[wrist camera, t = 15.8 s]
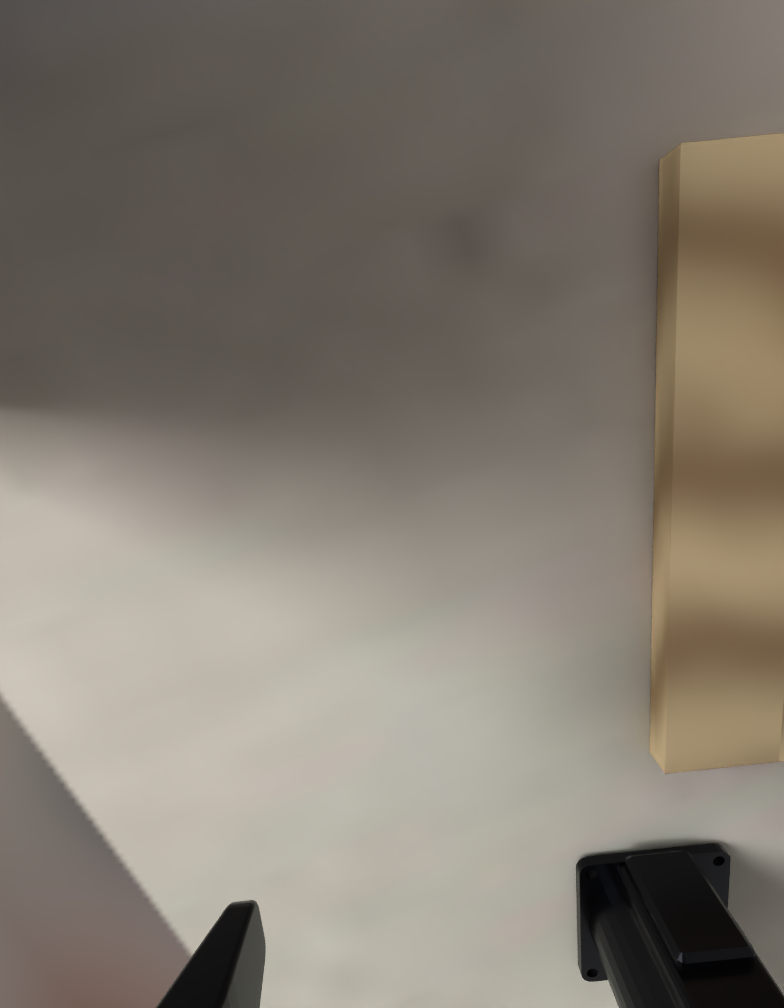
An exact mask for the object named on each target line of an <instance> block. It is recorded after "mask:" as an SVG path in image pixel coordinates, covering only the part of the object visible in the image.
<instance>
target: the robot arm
mask: <svg viewBox="0 0 784 1008" xmlns="http://www.w3.org/2000/svg"><path fill="white" fill-rule="evenodd" d="M729 876H730V856H729V855H728V853H727V852H726V851H725V849H724V848H723V847H722V846H721V845H719V844H704V845H695V846H685V847H676V848H666V849H657V850H648V851H638V852H629V853H619V854H610V855H600V856H591V857H585V858H582V859H581V860H579V861H578V863H577V865H576V891H577V937H578V966H579V969H580V972H581V975H582V978H583V979H584V980H586V981H592V982H593V981H602V980H608V981H609V983H610V986H611V988H612V991H613V994H614V996H615V999H616V1001H617V1004H618V1006H619V1008H784V995H783V993H782V992H781V990H780V989H779V987H778V986H777V984H776V983H775V981H774V980H773V978H772V977H771V975H770V974H769V972H768V971H767V969H766V968H765V966H764V965H763V963H762V962H761V960H760V959H759V957H758V956H757V954H756V953H755V951H754V949H753V946H752V945H751V943H750V942H749V940H748V939H747V937H746V936H745V934H744V933H743V931H742V930H741V928H740V927H739V925H738V924H737V922H736V921H735V919H734V918H733V916H732V915H731V913H730V912H729V910H728V909H727V908H728V892H729ZM264 964H265V937H264V932H263V927H262V921H261V916H260V911H259V906H258V904H257V902H256V901H254V900H249V901H239V902H233V903H231V904H230V905H228V906H227V907H226V909H225V910H224V912H223V913H222V914H221V916H220V917H219V919H218V920H217V922H216V923H215V924H214V926H213V927H212V929H211V930H210V931H209V933H208V934H207V936H206V937H205V939H204V940H203V941H202V943H201V944H200V946H199V947H198V949H197V950H196V951H195V953H194V954H193V956H192V957H191V958H190V960H189V961H188V963H187V964H186V966H185V967H184V968H183V970H182V971H181V973H180V974H179V976H178V977H177V978H176V980H175V981H174V983H173V984H172V986H171V987H170V988H169V990H168V991H167V993H166V994H165V995H164V997H163V998H162V1000H161V1001H160V1003H159V1004H158V1005H157V1007H156V1008H259V1007H260V999H261V990H262V981H263V973H264Z"/></svg>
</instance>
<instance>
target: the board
mask: <svg viewBox="0 0 784 1008" xmlns="http://www.w3.org/2000/svg"><path fill="white" fill-rule="evenodd" d="M650 754H651V755H652V756H653V758H654V759H655V761H656V762H657V763H658V765H659V766H660V767H661V769H662V770H663V771H664V773H665V774H666V773H676V772H685V771H695V770H704V769H714V768H723V767H733V766H742V765H752V764H761V763H771V762H780V761H784V133H777V134H767V135H757V136H747V137H737V138H727V139H717V140H707V141H697V142H687V143H680V144H679V145H678V146H676V147H675V148H674V149H673V150H671V151H670V152H669V153H668V154H666V155H665V156H664V157H663V158H661V159H660V160H659V219H658V279H657V339H656V399H655V459H654V519H653V579H652V639H651V699H650Z"/></svg>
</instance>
